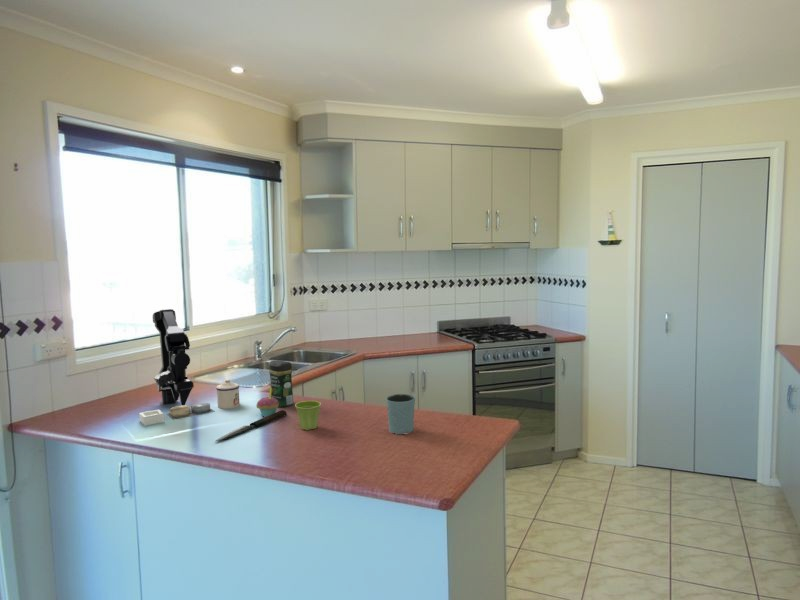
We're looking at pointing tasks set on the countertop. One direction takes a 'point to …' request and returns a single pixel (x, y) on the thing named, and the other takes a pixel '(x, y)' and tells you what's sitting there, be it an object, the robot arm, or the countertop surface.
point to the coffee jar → (281, 382)
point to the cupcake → (268, 405)
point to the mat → (190, 414)
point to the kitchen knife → (254, 424)
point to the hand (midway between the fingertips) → (179, 402)
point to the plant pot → (308, 414)
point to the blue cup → (400, 413)
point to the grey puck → (200, 407)
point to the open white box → (151, 417)
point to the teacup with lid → (228, 395)
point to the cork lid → (180, 411)
